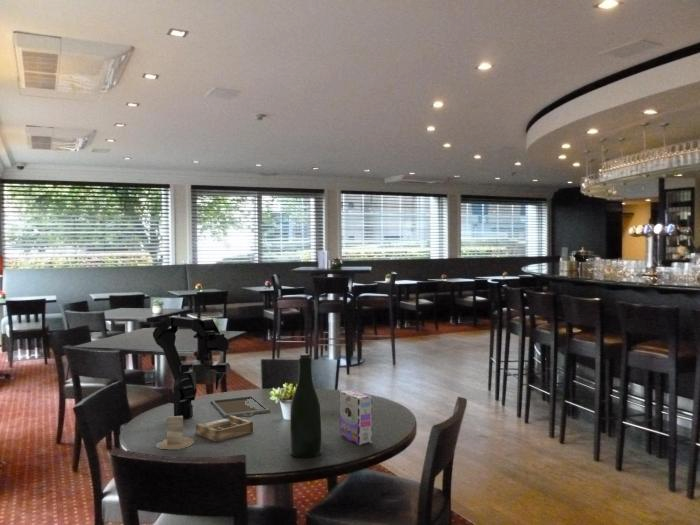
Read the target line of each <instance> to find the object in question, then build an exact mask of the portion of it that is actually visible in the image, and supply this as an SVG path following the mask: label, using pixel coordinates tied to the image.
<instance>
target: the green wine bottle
mask: <svg viewBox="0 0 700 525" xmlns="http://www.w3.org/2000/svg"><path fill="white" fill-rule="evenodd" d="M299 356H300V357H299V358H298V378H297V379H298V380H297V384H296V388H295V391H294V393H293V396H292V400H291V404H290V412H289V413H290V415H289V416H290V418H289V420H290V422H289V428H290V429H289V444H290V445H289V452H290V454H291V455H292V457H293V456H294V457H296V458H303V459H304V458H313V457H317V456H319V455H321V453H322V449H323V448H322V445H323V444H322V440H323V439H322V435H323V434H322V408H321V401H320V398H319V395H318V393H317V390H316V387H315V384H314V379H313V370H312V369H313V368H312V364H313V359H312V357H311V354H310V353H301V354H300V355H299Z"/></svg>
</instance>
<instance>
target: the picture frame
mask: <svg viewBox="0 0 700 525" xmlns="http://www.w3.org/2000/svg"><path fill="white" fill-rule="evenodd" d="M250 398H251V399H253V400H254V401H255V402H257V403H258V404H259V405H260V406H261V407H263V408H264V410H257V409H255V408H254V407H253V408H250V406H247V405H245V401H247V399H250ZM210 403H211V405H212V406H213V408H215V409H216V410H217V412H219V414H221V416H222V417H223V418H224V419H229V416H230V415H232V416H236V417H246V418H249V417H253V416H254V415H258V413H261V414H265V413H264V412H269V413H271V410H270V408H268V406H266V405H265V404H263V403H262V402H261V401H260V400H259V399H257V398H256V397H254V395H246V396H237V397H236V396H235V397H227V398H219V399H218V398H217V399H211V400H210ZM247 403H249V402H247ZM253 414H254V415H253Z"/></svg>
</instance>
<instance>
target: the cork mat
mask: <svg viewBox="0 0 700 525" xmlns="http://www.w3.org/2000/svg"><path fill="white" fill-rule="evenodd" d="M162 440H163V441H164V442H162V443H161V444H160V445H161V446H159V447H158V448H160V449H159V450H161V449H178V450H181V449H180V448H183V449H186V448H185V447H187V448H189V446H190V447H191V445H192V444H193V443H194V444H195V440H194V439H193V438H190V437H186V436H185V437H184V436H183V443H182V444H174V445H167V438H165V439H162ZM194 444H193V445H194ZM193 445H192V446H193ZM158 448H157V449H158Z"/></svg>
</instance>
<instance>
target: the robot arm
mask: <svg viewBox="0 0 700 525" xmlns="http://www.w3.org/2000/svg"><path fill="white" fill-rule="evenodd" d="M179 328H186V329H190V330H192V332H195V334H194V335H193V337H192V338H193V339H197V340H196V341H197V343H196V344H197V347H196V348H197V350H196V351H197V353H196V355H195V359H194V360H193V361H192V362H184V363H183V362H182V360H181V358H180V355H179V353H178V350H177V347H176V345H175V343H176V340H177V338H176V337H177V336H176V333H177V332H178V331H179ZM219 330H220V329H219V328H218V326H217V325H216V322H215V321H214V319H213V317H201V318H193V317H187V316H186V317H185V316H180V315H171V316H170V315H169V316H167V317H166V318H165V320H163V321H162V322H161V323H160V324H158V325H157V326H156V327H155V328H154V329H153V332H152V337H153V340H154V341H155V344H156V345H157V346H158V347H160V348H161V349H162V351H163V353H164V356H165V358H166V361H167V364H168V366H169V369H170V372H171V374H172V378H173V379H174V382H173V388H172V389H173V393H172V394H171V396H170V397H169V401H170V404H173V416H183V420H188V419H189V418H191V417H192V416H193V415H194V412H193V411H194V409H193V408H194V406H193V404H192V401H193V402H194V401H195V399H196V395H197V392H198V389H197V383H196V382H197V381H196V376H197V375H196V374H197V372H199V373H203V372H205V371H210V370H211V371H215V373H214V374H215V390H218V389H219V387H220V385H221V382H222V379H223V376H224V374H227V372H229V371H230V370H231V364H230V363H229V362H219V363H218V364H214V361H213V355H214V352H222V353H224V352H226V350H228V347H229V341H228V338H227V337H225V334H224V333H221V332H220V331H219Z"/></svg>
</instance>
